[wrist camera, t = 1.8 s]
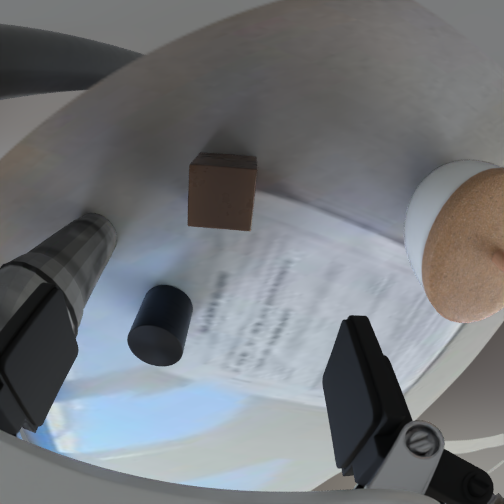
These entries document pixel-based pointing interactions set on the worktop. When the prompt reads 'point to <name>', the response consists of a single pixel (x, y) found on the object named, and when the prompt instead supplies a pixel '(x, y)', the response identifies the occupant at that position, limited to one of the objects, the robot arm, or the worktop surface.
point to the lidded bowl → (459, 239)
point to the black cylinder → (161, 326)
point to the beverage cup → (60, 267)
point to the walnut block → (222, 191)
